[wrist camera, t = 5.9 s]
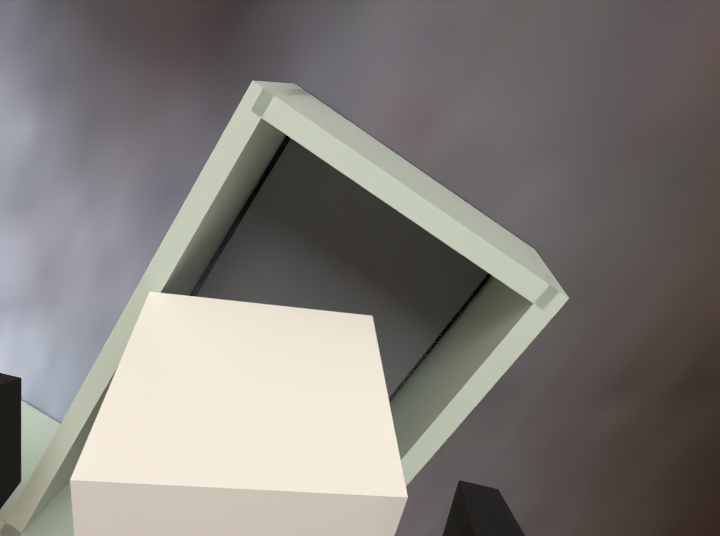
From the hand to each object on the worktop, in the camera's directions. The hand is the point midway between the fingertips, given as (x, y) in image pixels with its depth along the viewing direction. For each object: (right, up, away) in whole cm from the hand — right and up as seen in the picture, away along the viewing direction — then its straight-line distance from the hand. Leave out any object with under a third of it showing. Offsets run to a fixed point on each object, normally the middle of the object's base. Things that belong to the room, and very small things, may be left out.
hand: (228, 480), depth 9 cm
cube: (0, +1, +2) cm, 2 cm away
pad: (0, +1, +4) cm, 5 cm away
